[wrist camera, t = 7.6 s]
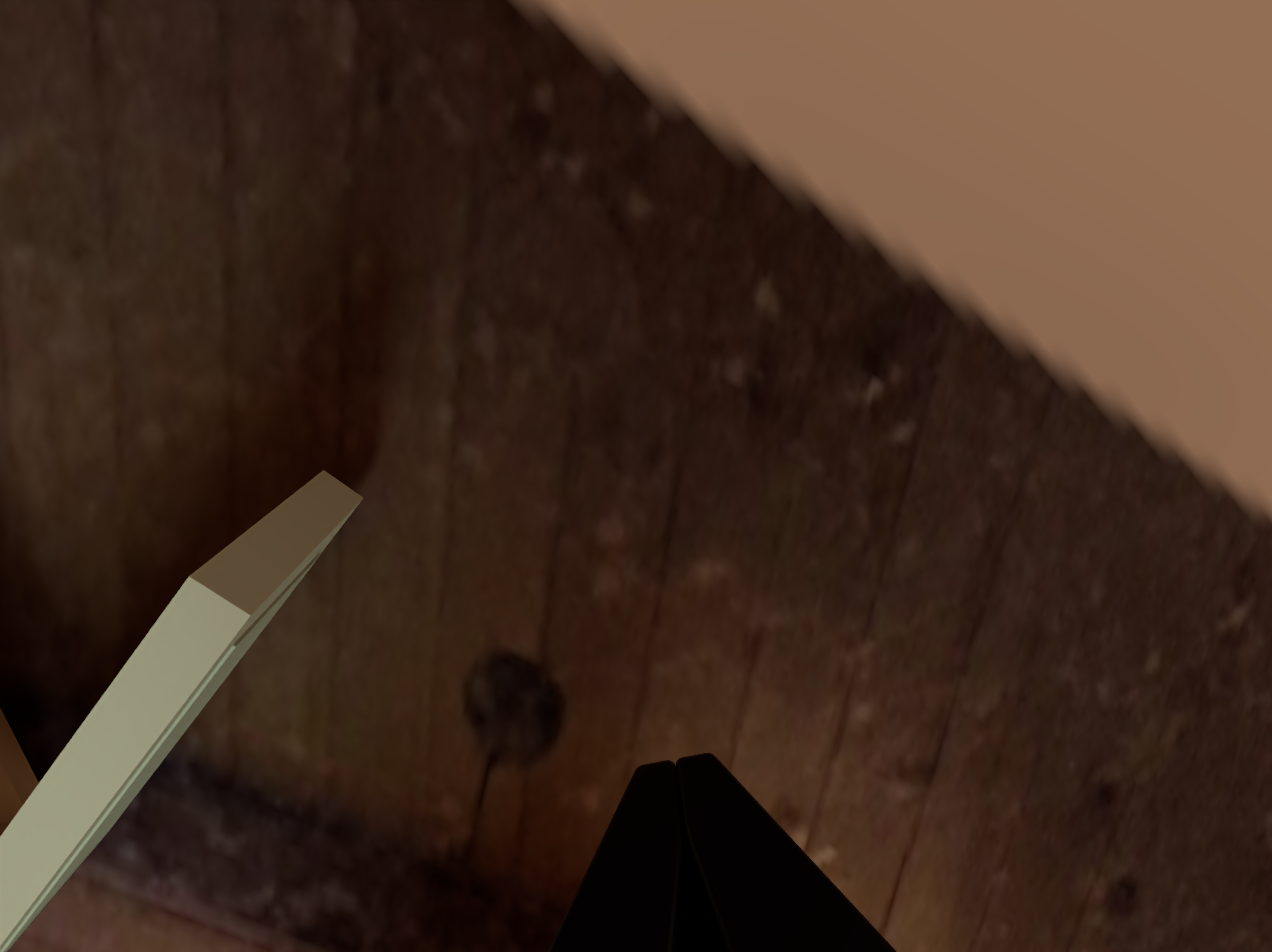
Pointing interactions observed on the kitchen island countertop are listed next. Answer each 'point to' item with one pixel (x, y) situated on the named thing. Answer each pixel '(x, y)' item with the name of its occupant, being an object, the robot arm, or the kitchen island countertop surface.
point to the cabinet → (12, 775)
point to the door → (160, 696)
